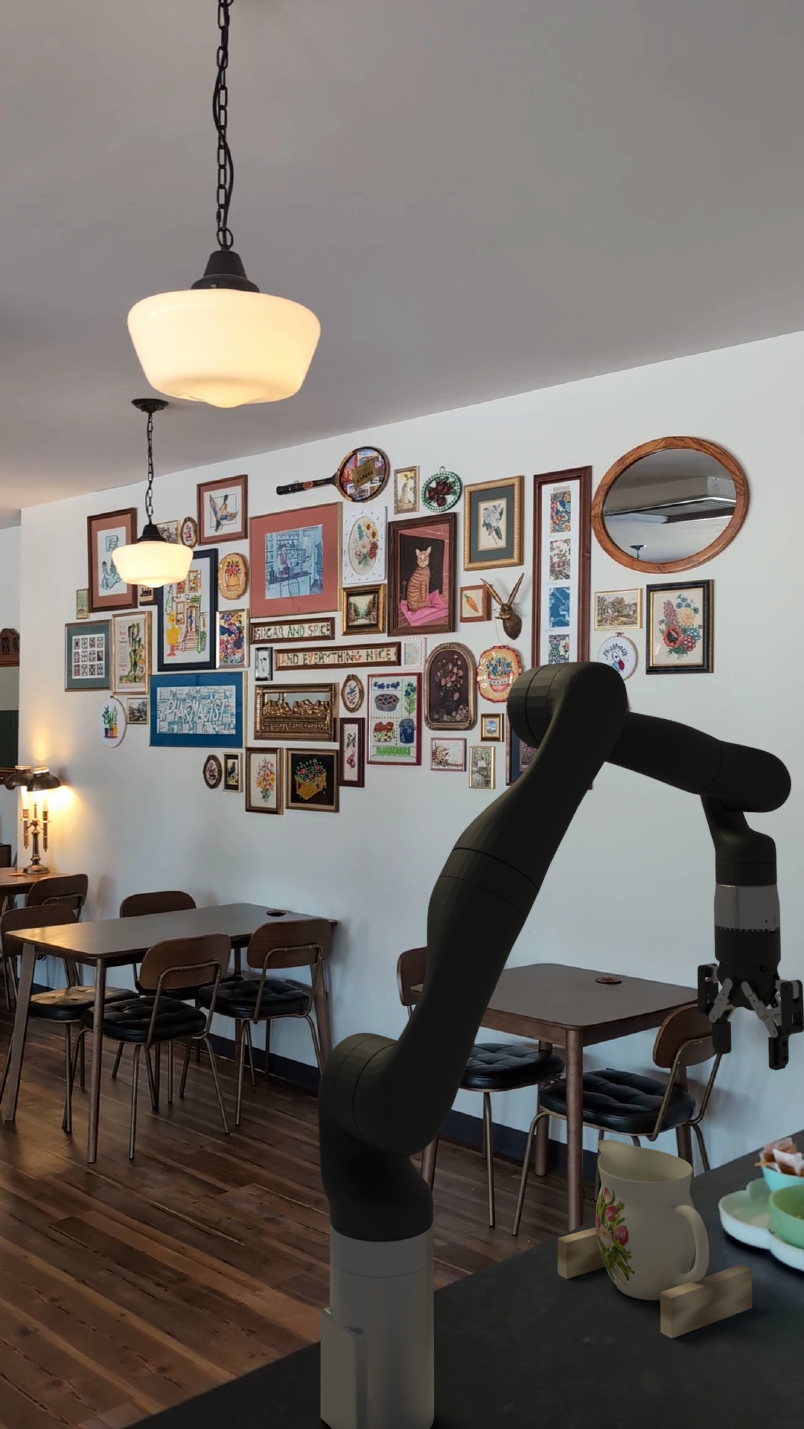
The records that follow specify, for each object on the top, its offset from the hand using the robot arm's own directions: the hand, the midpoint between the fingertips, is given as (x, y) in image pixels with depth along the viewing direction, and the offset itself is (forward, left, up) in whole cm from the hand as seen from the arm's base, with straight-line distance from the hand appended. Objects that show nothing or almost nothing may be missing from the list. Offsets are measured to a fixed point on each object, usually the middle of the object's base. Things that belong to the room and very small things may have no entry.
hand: (749, 1060), depth 137 cm
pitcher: (-16, 0, -23) cm, 28 cm away
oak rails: (-16, 0, -23) cm, 28 cm away
